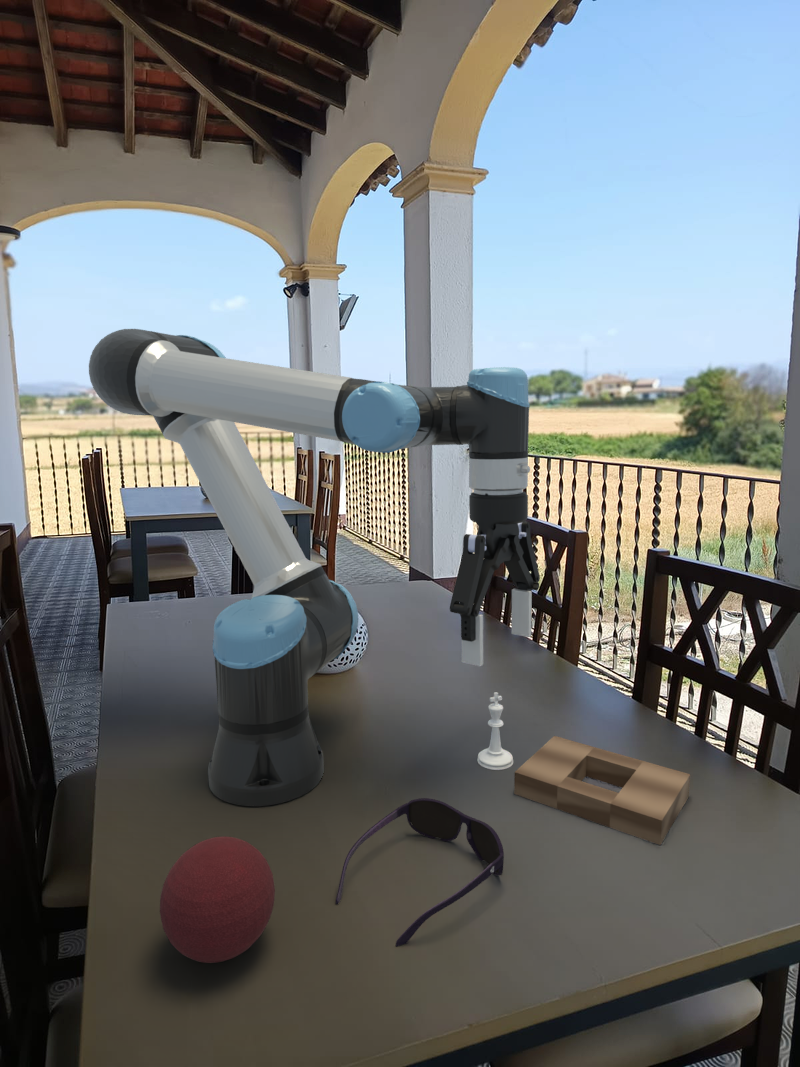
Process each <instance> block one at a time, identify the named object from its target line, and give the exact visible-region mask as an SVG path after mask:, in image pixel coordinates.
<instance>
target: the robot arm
mask: <svg viewBox="0 0 800 1067" xmlns="http://www.w3.org/2000/svg"><path fill="white" fill-rule="evenodd" d="M88 375H89V380H90V384H91V386H92V388H93V390H94V391H95V393H96V395H97V396H98V397H99V399H100V400H102V402H104V404H106V405H107V406H109V408H111V409H113V410H115V411H116V412H117V411H118V412H119V413H123V414H127V415H132V416H133V415H134V416H151V417H153V418H154V421H155V423H156V424H157V426H158V427H159V430H160V432H161V434H162V435H163V437H164V439H166V440H167V441H171V442H174V443H177V444H179V445H180V447H181V449H182V451H183V452H184V455H185V457H186V458H187V460H188V462H189V464H190V466H191V468H192V470H193V472H194V473H195V476H196V478H197V479H198V481H199V483H200V485H201V487H202V489H203V490H204V491H203V492H205V494H206V497H207V498H208V500H209V502H210V504H211V506H212V508H213V510H214V512H215V514H216V515H217V518H218V520H219V521H220V523H221V526H222V527H223V529H224V530H225V532H226V535H227V536H228V538H229V541H230V542H231V544H232V546H233V548H234V550H235V551H236V554H237V555H238V557H239V559H240V561H241V563H242V566H243V567H244V569H245V571H246V572H247V574H248V576H249V578H250V580H251V583H252V584H253V592H252V595H251V598H250V599H246V598H245V599H241V600H238V601H236V602H234V603H232V604H230V605H228V606H227V607H225V608H224V609H223V610H221V611H220V613H218V615H217V616H216V618H215V620H214V622H213V623H214V625H213V640H212V652H213V656H214V668H215V670H214V671H215V683H216V684H215V685H216V697H217V698H216V699H217V712H218V731H217V734H216V738H215V743H214V746H213V751H212V756H211V757H210V759H209V762H208V767H207V775H208V786H209V790H210V791H211V792H212V794H213V796H215V797H216V798H218V799H219V800H222V801H224V802H226V803H229V804H232V805H236V806H244V807H245V806H246V807H262V806H263V807H264V806H265V807H267V806H273V805H277V804H282V803H286V802H290V801H293V800H295V799H298V798H300V797H302V796H304V795H306V794H307V793H309V792H310V791H312V790H313V789H314V788H316V786H318V785H319V783H320V782H321V781H320V780H322V779H323V777H324V774H323V773H324V772H325V766H324V765H325V763H324V762H325V761H324V753H323V750H322V747H321V745H320V744H319V740H318V738H317V735H316V732H315V729H314V727H313V725H312V722H311V719H310V715H309V714H310V713H309V692H308V688H309V687H308V681H309V679H310V678H311V677H312V676H314V675H315V674H317V673H318V672H319V671H320V670H322V669H323V667H325V666H326V665H328V664H329V663H330V662H332V661H334V660H336V659H338V658H339V657H340V656H341V655H342V654H343V653H344V652H345V651H346V649H347V648H348V646H350V645H351V643H352V642H353V640H354V639H355V636H356V635H357V630H358V627H359V626H358V625H359V611H358V606H357V603H356V600H354V597H353V596H352V594H351V592H350V591H349V590H348V589H347V588H346V587H345V586H343V585H342V584H341V583H337V582H335V581H334V580H331V579H329V577H328V575H327V573H326V571H325V570H324V568H323V566H322V564H321V563H320V562H316V561H312V560H309V559H308V558H306V555H305V553H304V552H303V550H302V548H301V547H300V546H301V545H300V544H299V542H298V540H297V539H296V536H295V535H294V533H293V531H292V529H291V528H290V525H289V523H288V522H287V520H286V518H285V516H284V514H283V513H282V510H281V508H280V507H279V505H278V503H277V501H276V498H274V495H273V493H272V492H271V489H270V487H269V486H268V484H267V482H266V480H265V478H264V476H263V474H262V472H261V471H260V469H259V466H258V465H257V462H256V461H255V459H254V457H253V456H252V453H251V452H250V450H249V448H248V446H247V444H246V442H245V440H244V439H243V438H244V437H243V436H242V434H241V433H240V430H239V429H238V427H237V425H236V423H238V424H241V425H242V424H243V425H248V426H252V427H253V426H254V427H258V428H259V427H260V428H266V429H270V430H276V431H281V432H287V433H293V434H297V435H304V436H309V437H315V438H321V439H325V440H331V441H337V442H342V443H347V444H351V445H355V446H357V447H358V448H360V449H361V450H364V451H367V452H373V453H380V454H381V453H382V454H386V453H393V452H396V451H398V450H404V449H411V448H417V447H424V446H451V445H452V446H453V445H456V446H463V445H468V458H469V459H468V460H469V461H468V488H470V489H471V490H472V492H471V493H470V495H469V499H468V500H469V502H468V503H469V507H468V508H469V512H468V514H469V516H468V517H469V519H470V521H472V522H473V523H476V524H477V526H478V527H477V528H478V529H477V534H469V533H465V534H464V535H463V539H462V553H461V558H460V562H459V567H458V570H457V575H456V580H455V583H454V587H453V592H452V596H451V599H450V600H451V601H450V604H449V612H451V613H454V614H458V615H460V636H461V637H460V638H461V639H460V640H461V663H463V664H468V665H471V666H472V665H473V666H476V667H481V666H482V667H483V665H484V615H483V614H481V613H480V611H481V609H482V605H483V603H484V600H485V597H486V595H487V592H488V589H489V587H490V583H491V581H492V578H493V575H494V572H495V571H497V570H499V568H500V565H501V564H504V566H505V567H506V570H507V572H508V574H509V576H510V578H511V580H512V582H513V584H514V587H515V588H513V589H511V635H514V636H521V637H525V638H531V636H532V603H533V602H532V601H533V600H532V598H533V597H532V594H533V592H532V590H533V591H538V590H539V589H540V583H539V582H540V579H541V578H540V573H539V567H538V563H537V558H536V555H535V550H534V545H533V543H532V542H533V541H532V538H531V525H530V524H531V523H530V522H529V521H527V519H529V518H528V517H529V495H528V494H527V492H525V491H524V490H525V489H526V488H527V487H528V485H529V483H528V482H529V480H528V479H529V476H528V475H529V473H530V471H531V467H530V465H529V460H528V459H529V426H530V424H529V422H530V407H531V406H530V405H531V404H530V402H529V385H528V384H529V383H528V378H529V377H528V375H527V373H526V372H525V370H523V369H521V368H518V367H509V366H508V367H505V366H504V367H486V368H485V367H484V368H476V369H472V370H470V372H469V373H468V380H467V382H466V384H462V385H457V386H414V385H405V384H404V385H402V384H396V383H391V382H387V381H386V382H385V381H375V380H369V379H362V378H353V377H350V376H342V375H336V374H330V373H323V372H316V371H309V370H305V369H304V370H303V369H296V368H293V367H292V368H290V367H284V366H279V365H278V366H277V365H271V364H265V363H259V362H251V361H245V360H239V359H234V358H233V359H232V358H226V356H225V355H224V354H223V352H222V351H221V350H220V349H219V348H217V347H216V346H215V345H214V344H211V343H210V342H208V341H205V340H202V339H199V338H198V337H195V336H190V335H186V334H185V335H184V334H179V335H177V334H176V335H174V334H169V333H164V332H158V331H152V330H146V329H140V328H123V329H118V330H115V331H112V332H111V333H108V334H106V336H104V337H102V338H101V339H100V340H99V341H98V342H97V343H96V345H95V347H94V348H93V349H92V351H91V355H90V357H89V361H88ZM322 776H323V777H322ZM321 778H322V779H321ZM319 781H320V782H319ZM308 791H309V792H308Z"/></svg>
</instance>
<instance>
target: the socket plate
mask: <svg viewBox="0 0 800 1067" xmlns="http://www.w3.org/2000/svg"><path fill="white" fill-rule="evenodd" d="M513 777H514V780H513V781H514V786H513V787H514V788H513V789H514V790H513V793H514V795H516V796H519V797H521V798H524V799H527V800H529V801H530V800H531V801H533V802H535V803H538V804H542V805H544V806H548V807H550V808H553V809H556V810H558V811H559V810H560V811H562V812H564V813H567V814H570V815H574V816H576V817H579V818H581V819H585V820H588V821H590V822H592V823H597V824H599V825H602V826H604V827H608V828H611V829H613V830H615V831H618V832H621V833H624V834H626V835H630V836H632V837H633V836H634V837H636V838H639V839H642V840H645V841H647V842H650V843H653V844H655V845H659V846H661V845H662V843H663V842H664V840H665V838H666V836H667V835H668V833H669V831H670V830H671V828H672V827H673V825H674V823H675V822H676V820H677V817H678V816H679V814H680V812H681V811H682V809H683V807H684V806H685V804H686V802H687V801H688V798H690V786H691V784H690V783H691V774H690V773H687V772H684V771H681V770H680V771H679V770H677V769H674V768H673V769H672V768H669V767H666V766H662V765H658V764H655V763H653V762H648V761H645V760H641V759H638V758H634V757H631V756H627V755H623V754H621V753H616V752H613V751H610V750H605V749H604V748H599V747H595V746H593V745H588V744H585V743H581V742H578V741H574V740H571V739H567V738H564V737H561V736H557V735H554V736H552V737H551V738H550V739H549V740H548V741H547V742H546V743H545V744H544V745H542V747H540V748H539V749H538V750H537V751H536V752H535V753H534V754H533V755H532V756H530V757H529V758H528V759H527V760H526V761H525V762H524V763H523V764H522V765H521V766H519V767H518V768H517V769H516V770H515V771H514V776H513ZM585 778H589V779H593V780H597V781H599V782H603V783H606V784H609V785H613V786H615V787H619V788H621V789H620V791H619V792H617V791H613V790H612V789H611V790H610V789H607V788H604V787H602V786H598V785H595V784H592V783H588V782H585V781H583V780H585Z"/></svg>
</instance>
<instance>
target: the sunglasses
mask: <svg viewBox="0 0 800 1067" xmlns="http://www.w3.org/2000/svg"><path fill="white" fill-rule="evenodd" d="M404 815H406V817H407V818H406V820H407V823H408V825H409V826H410V827H411V829H412V830H414V832H416V833H418V834H420V835H422V836H424V837H427V838H429V839H440V841H442V842H451V841H454V840H456V839H457V838H458V836H459V834H460V832H461V830H462V825H463V824H464V825H465V826H466V833H465V834H466V839H467V843H468V844H469V846H470V847H471V849H472V851H473V852H474V854H475V855H476V857H477V858H478V859H479V861H481V862H482V861H484V862H485V863H486V864H487V866H486V868H485V869H483V870H482V871H481V873H479V874H478V875H477V876H475V877H474V878H473V879H472V880H470V881H469V882H468V883H467V884H465V886H462V888H461V889H459V890H458V891H457V892H455V893H454V894H452V895H450V896H449V897H447V898H446V899H444V900H442V901H440V902H438V903H437V904H435V905H433V906H432V907H430V908H429V909H427V910H426V911H424V912H423V913H422V914H421V915H420V916H418V917H417V919H415V920H414V922H412V923H411V924H410V925H409V926H408V927H407V928H406V929H405V930H404V931H403V933H402V934H400V936H399V937H398V938H397V939H396V941H395V947H400V946H403V945H404V946H405V945H407V943H409V941H410V940H411V938H412V937H413V936H414V934H415V933H416V932H417V931H418V929H419V928H420V927H421V926H422V925H423V924H424V923H425V922H426V921H427V920H429V919H430V917H432V916H433V915H435V914H437V913H438V912H441V911H442V910H444V909H445V908H447V907H449V906H450V905H452V904H454V903H456V902H457V901H458V900H460V899H461V898H463V897H464V896H466V895H467V894H468V893H470V892H471V891H473V890H474V889H475V888H477V887H478V886H479V885H480V884H482V883H483V882H484V881H486V880H487V879H488V878H489V877H490V876H492V875H494V876H496V877H498V876H500V877H501V876H502V875H503V872H504V863H505V862H504V857H505V853H504V848H503V844H502V841H501V839H500V837H499V834H497V831H495V829H494V828H493V827H492V826H491V825H490V824H488V823H486V822H484V821H482V820H480V819H477V818H475V817H472V816H469V815H467V814H465V813H463V812H461V811H460V810H458V809H457V808H455V807H454V806H451V804H450V805H449V804H448V803H446V802H443V801H441V800H438V799H435V798H429V797H428V798H427V797H426V798H425V797H423V798H422V797H421V798H415V799H412V800H409V801H408V802H406V803H404V804H402V805H400V806H399V807H397V808H395V809H394V810H392V811H391V812H390V813H388V814H386V816H384V817H383V818H381V819H380V820H378V822H376V823H375V824H373V826H371V827H370V828H369V829H367V830H366V831H365V833H363V834H362V835H361V837H359V838H358V840H356V842H355V843H354V844H353V845H352V847H350V849H349V851H348V853H347V854H346V856H345V859H344V863H343V866H342V871H341V874H340V879H339V884H338V888H337V892H336V897H335V902H334V903H335V905H336V904H338V903H339V902H340V903H341V901H342V896H343V888H344V884H345V878H346V872H347V868H348V866H349V862H350V861H351V858H352V857H353V855H354V854H355V852H356V851H357V850H358V849H359V847H361V845H363V843H365V841H367V840H368V839H370V837H372V836H374V835H375V834H376V833H377V832H378V831H380V830H381V829H383V828H384V827H386V826H388V825H389V824H390V823H391V822H393V821H395V820H396V819H398V818H400V817H401V816H404ZM340 900H341V901H340ZM340 903H339V904H340ZM339 904H338V905H339Z"/></svg>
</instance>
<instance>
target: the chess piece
mask: <svg viewBox="0 0 800 1067" xmlns="http://www.w3.org/2000/svg"><path fill="white" fill-rule="evenodd" d="M502 700H503V696H502V695H499V692H497V691H496V692H493V696H492V697H489V702H490V704H489V705H488V706H487V707H488V711H489V714H490V717H491V718H490V719H489V720H488V721H487V726H489V727H491V734H490V741H489V747H487V748H484V749H482V750H481V751H479V752H478V755H477V759H476V760H477V763H478V765H480V767H482V768H485V769H488V770H490V771H491V770H493V771H501V770H502V771H503V770H507V769H510V768H511V767H512V766H513V765H514V759H513V758H514V757H513V755H512V753H511V752H509V750H506V749H504V748H502V743H501V742H502V741H501V733H500V727H504V721H503V720H502V719H501V715H502V712H503V710H504V705H502V704H501V703H499V701H502ZM492 702H493V703H492Z"/></svg>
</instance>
